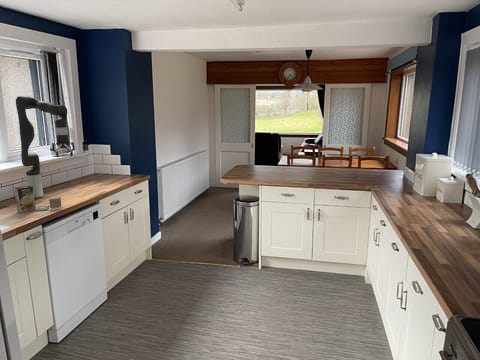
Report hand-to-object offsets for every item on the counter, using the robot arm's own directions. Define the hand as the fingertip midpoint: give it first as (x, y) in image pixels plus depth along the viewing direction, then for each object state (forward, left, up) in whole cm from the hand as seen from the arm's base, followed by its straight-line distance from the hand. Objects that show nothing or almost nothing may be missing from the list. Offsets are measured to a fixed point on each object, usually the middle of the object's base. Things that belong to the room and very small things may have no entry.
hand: (64, 156), depth 252 cm
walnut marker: (+17, -7, -31) cm, 36 cm away
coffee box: (+17, -24, -32) cm, 44 cm away
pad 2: (+17, -7, -32) cm, 37 cm away
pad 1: (+17, -15, -32) cm, 39 cm away
